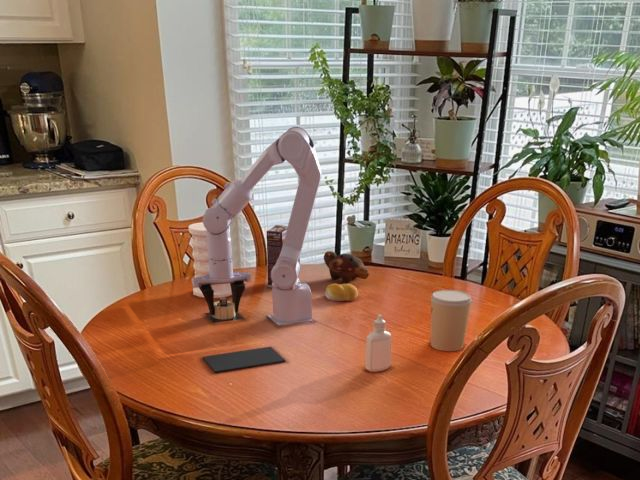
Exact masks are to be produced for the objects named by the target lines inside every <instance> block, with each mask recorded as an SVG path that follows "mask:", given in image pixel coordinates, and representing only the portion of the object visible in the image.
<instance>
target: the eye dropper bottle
mask: <svg viewBox="0 0 640 480" xmlns="http://www.w3.org/2000/svg"><path fill="white" fill-rule="evenodd" d="M386 323H387V321H386V320H384V319H383V315H382V314H380V313H379V314H377V318H376V319H375V320H374V321H373V331H371V332H370V333H368V335H367V336H366V341H365V369H366V370H367V371H368V372H372V373H376V372H377V373H378V372H382V371H385V370H388V369H390V368H391V358H392V339H393V338H392V334H391V332H389V331H387V330H386Z"/></svg>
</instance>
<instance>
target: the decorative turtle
mask: <svg viewBox="0 0 640 480" xmlns="http://www.w3.org/2000/svg"><path fill="white" fill-rule="evenodd" d="M323 261H324V263H325V266H326V267H327V268H328V271H329V275H330V278H331V280H332V281H337V280H339V279H340V280H342V282H343V284H349V282H350V281H351V280H355V279H357V278H358V279H363V280H366V279H368V278H369V277H370V270H369V269H367V268H365V264H364V262H363V260H362V259H361V258H359V257H357V255H354V254H352V253H341V254H339V255H337V252H335V251H333V250H328V251H326V252H325V253H324V254H323Z"/></svg>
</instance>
